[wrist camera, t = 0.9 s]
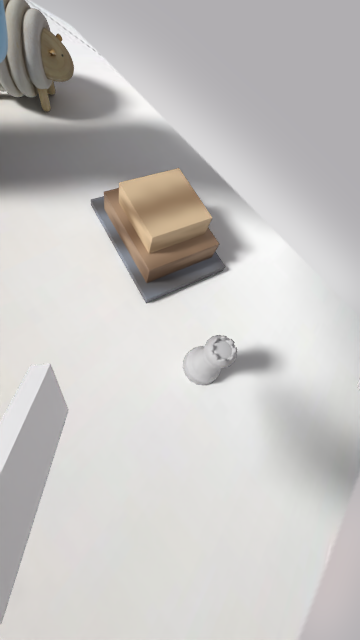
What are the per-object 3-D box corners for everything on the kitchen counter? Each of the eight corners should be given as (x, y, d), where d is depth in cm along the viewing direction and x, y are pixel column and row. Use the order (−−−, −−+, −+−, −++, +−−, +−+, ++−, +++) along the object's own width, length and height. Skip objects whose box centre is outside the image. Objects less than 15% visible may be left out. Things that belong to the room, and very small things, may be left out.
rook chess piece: (205, 342, 35) (229, 318, 28) (224, 374, 34) (255, 358, 27) (174, 359, 34) (192, 338, 26) (194, 393, 33) (218, 381, 25)
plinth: (91, 205, 39) (87, 160, 33) (167, 185, 43) (176, 142, 37) (146, 303, 35) (153, 274, 29) (222, 270, 40) (244, 239, 33)
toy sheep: (74, 128, 43) (62, 36, 33) (-55, 104, 40) (-111, -8, 30) (81, 84, 47) (73, -10, 37) (-35, 59, 44) (-79, -54, 34)
